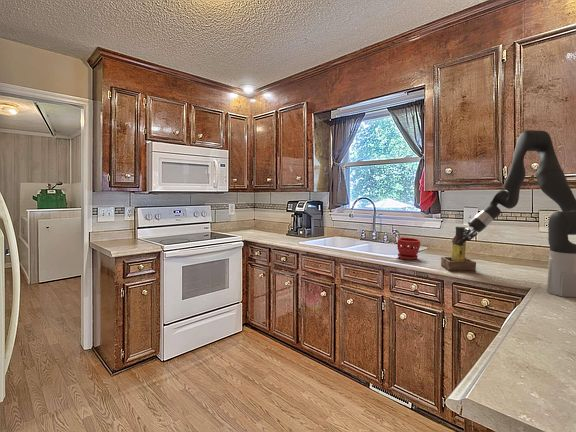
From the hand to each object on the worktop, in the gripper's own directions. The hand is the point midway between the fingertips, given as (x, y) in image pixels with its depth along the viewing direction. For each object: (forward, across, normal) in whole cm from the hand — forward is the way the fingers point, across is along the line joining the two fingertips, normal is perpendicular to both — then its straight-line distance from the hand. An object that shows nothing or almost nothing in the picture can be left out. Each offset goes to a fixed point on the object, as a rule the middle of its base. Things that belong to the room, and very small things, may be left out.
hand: (455, 243), depth 171 cm
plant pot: (+23, -24, -3) cm, 33 cm away
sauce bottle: (+7, 0, +9) cm, 11 cm away
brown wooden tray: (+9, 0, +11) cm, 14 cm away
